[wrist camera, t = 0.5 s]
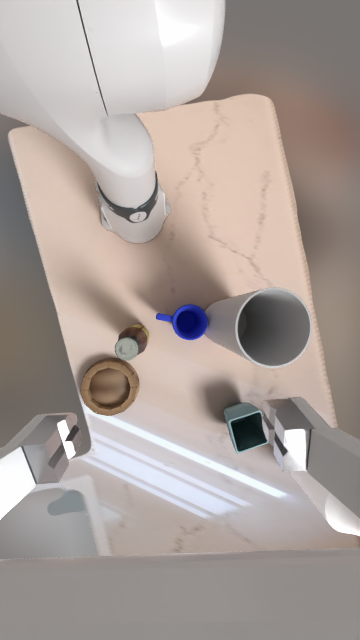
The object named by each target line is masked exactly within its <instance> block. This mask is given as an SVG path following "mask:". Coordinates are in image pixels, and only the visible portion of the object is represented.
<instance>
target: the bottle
mask: <svg viewBox="0 0 360 640" xmlns="http://www.w3.org/2000/svg"><path fill="white" fill-rule="evenodd" d="M289 473H290V474H291V475H292V476H293V478H294V479H295V480H296V482H297V483H298V484H299V485H300V487H301V488H302V489H303V491H304V492H305V493H306V494H307V496H308V497H309V498H310V500H311V501H312V502H313V503H314V505H315V506H316V507H317V509H318V510H319V511H320V512H321V514H322V515H323V516H324V518H325V519H326V520H327V521H328V523H329V524H330V525H331V527H333V528H334V529H335V530H337V531H339V532H343V533H350V534H355V535H358V536H360V519H359V518H358V517H357V516H356V515H355V514H354V513H353V512H352V511H350V510H349V509H348V508H347V507H346V506H345V505H344V504H342V503H341V502H340V501H339V500H338V499H337V498H336V497H335V496H333V495H332V494H331V493H330V492H329V491H328V490H327V489H326V488H324V487H323V486H322V485H321V484H320V483H319V482H318V481H316V480H315V479H314V478H313V477H312V476H311V475H310V474H309V473H307V471H289Z"/></svg>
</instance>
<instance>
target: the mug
mask: <svg viewBox="0 0 360 640" xmlns="http://www.w3.org/2000/svg"><path fill="white" fill-rule="evenodd" d="M156 319H157V320H163V321H169V322H172V324H173V328H174V331H175V332H176V334H177V335H178V336H180V337H181V338H183V339H186V340H195V339H197V338H199V337H201V336H202V335H203V334H204V333H205V331H206V329H207V326H208V318H207V315H206V313H205V312H204V310H203V309H202V308H200V307H199V306H196V305H192V304H189V305H184V306H182V307H180V308H179V309H178V310H177V311H176V312H175V314H174V315H173V316H170V315H166V314H160V313H157V315H156Z"/></svg>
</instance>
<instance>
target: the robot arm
mask: <svg viewBox="0 0 360 640" xmlns="http://www.w3.org/2000/svg"><path fill="white" fill-rule="evenodd" d="M224 19H225V0H0V114H3V115H6V116H8V117H11V118H14V119H16V120H19V121H22V122H24V123H27V124H29V125H31V126H33V127H35V128H37V129H39V130H41V131H43V132H45V133H46V134H48V135H50V136H51V137H53V138H55V139H56V140H58V141H59V142H61V143H62V144H64V145H65V146H66V147H68V148H69V149H70V150H72V151H73V152H74V153H75V154H77V155H78V156H79V157H80V158H81V159H82V160H83V161H84V162H85V163H86V164H87V165H88V167H89V169H90V170H91V172H92V173H93V175H94V177H95V179H96V180H97V181H94V185H95V189H96V191H97V192H99V196H98V201H99V203H100V210H101V220H102V225H103V227H104V228H105V229H107V230H110V231H113V232H115V233H116V234H118V235H119V236H120V237H121V238H123V239H124V240H126V241H129V242H132V243H144V242H147V241H150V240H152V239H153V238H154V237H156V236H157V235H158V233H159V232H160V230H161V229H162V226H163V223H164V220H165V218H166V217H167V216H168V215H169V213H170V212H171V207H170V204H169V202H168V200H167V198H166V196H165V194H164V192H163V190H162V188H161V187H160V185H159V183H158V179H157V174H156V171H155V160H154V146H153V142H152V139H151V136H150V134H149V132H148V130H147V129H146V127H145V126H144V124H143V123H142V121H141V120H140V119H139V117H138V116H137V115H136V113H147V112H158V111H165V110H168V109H170V108H173V107H176V106H178V105H181V104H183V103H186V102H188V101H190V100H193V99H195V98H197V97H199V96H200V95H201V94H202V93H203V91H204V89H205V88H206V86H207V84H208V82H209V80H210V78H211V76H212V73H213V71H214V68H215V65H216V62H217V59H218V55H219V52H220V47H221V42H222V36H223V29H224ZM165 204H166V205H165ZM105 219H106V220H105ZM262 409H263V410H264V412H265V414H264V416H263V417H262V425H263V431H264V434H265V437H266V439H267V441H268V443H269V444H271V445H272V446H273V447H274V455H275V457H276V459H277V461H278V463H279V465H280V467H281V469H282V471H307V473H309V474H310V475H311V476H312V477H313V478H314V479H315V480H316V481H318V482H319V483H320V484H321V485H322V486H323V487H324V488H326V489H327V490H328V491H329V492H330V493H331V494H332V495H333V496H335V497H336V498H337V499H338V500H339V501H340V502H341V503H342V504H344V505H345V506H346V507H347V508H348V509H349V510H350V511H352V512H353V513H354V514H355V515H356V516H357V517H358V518H359V519H360V440H359V439H357V438H355V437H353V436H351V435H349V434H347V433H345V432H343V431H341V430H339V429H337V428H331V427H330V426H329V425H328V424H327V423H326V422H325V421H324V420H323V418H322V417H321V416H320V415H319V414H318V413H317V412H316V411H315V410H314V409H313V408H312V407H311V406H310V405H309V404H308V403H307V401H306V400H305V399H304V398H302V397H294V398H288V399H287V398H286V399H272V400H263V405H262ZM76 422H77V417H76V414H74V413H53V414H40V415H37V416H35V417H34V418H33V419H32V420H31V421H30V422H29V423H28V424H27V425H26V426H25V427H24V428H23V429H22V430H21V431H20V432H19V433H18V434H17V435H16V436H15V437H14V438H13V439H12V440H11V441H10V442H9V443H8V444H7V445H6V446H5V447H2V448H0V519H1V518H2V517H3V516H4V515H5V514H6V513H7V512H8V511H9V510H10V509H11V508H13V507H14V506H15V505H16V504H17V503H18V502H19V501H20V500H21V499H22V498H23V497H25V495H27V494H28V493H29V492H30V491H31V490H32V489H33V488H34V487H35V486H36V484H45V483H57V482H59V481H60V479H61V477H62V475H63V474H64V472H65V470H66V469H67V467H68V465H69V459H70V458H71V457H72V456H73V455H74V454H75V453H76V452H77V450H78V448H79V445H80V442H81V431H80V428H79V427H78V426H76V425H75V424H76ZM0 640H360V548H338V549H307V550H275V551H243V552H211V553H179V554H148V555H118V556H89V557H58V558H30V559H29V558H26V559H0Z"/></svg>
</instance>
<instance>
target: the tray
mask: <svg viewBox="0 0 360 640" xmlns="http://www.w3.org/2000/svg"><path fill="white" fill-rule="evenodd" d="M80 390H81V391H80V392H81V395H82V398H83V401H84V404H85V403H86V404H85V405H86V406H87V407H89V408H90V409H91V410H92V411H93V412H94V413H96V412H97V413H96V414H101V415H106V416H110V415H111V416H112V415H115V414H118V413H121V412H123V411H125V410H126V409H127V408H128V407H129V406H130V405H131V404H132V403H133V402H134V401H135V399H136V397H137V394H138V391H139V379H138V375H137V373H136V371H135V370H134V368H133V367H132V366H131V365H130V364H128V363H127V362H125V361H123V360H120V359H115V358H109V359H104V360H101V361H99V362H97V363H95V364H94V365H92V366H91V367H90V368H89V369H88V371H87V372H86V374H85V375H84V377H83V381H82V385H81V389H80Z"/></svg>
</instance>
